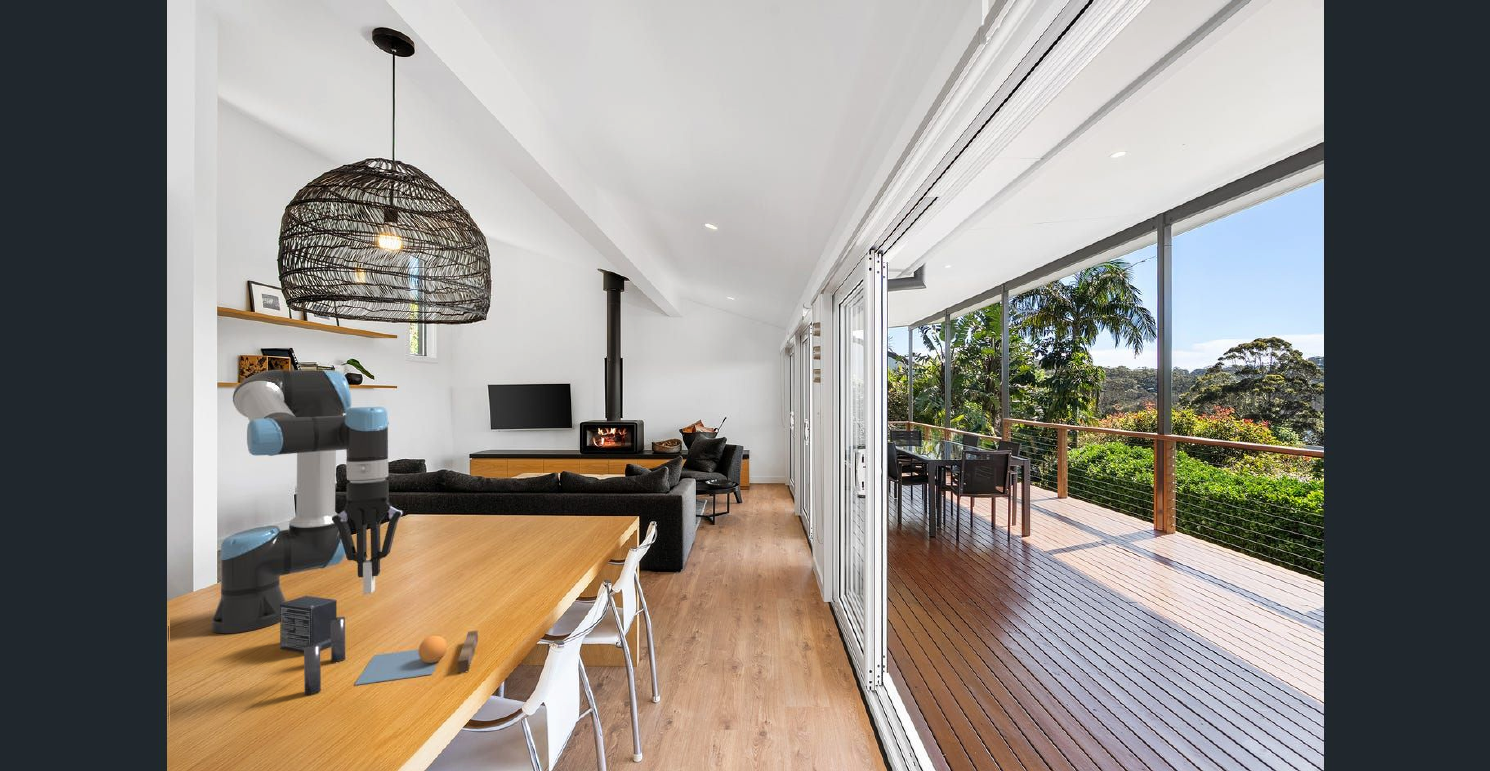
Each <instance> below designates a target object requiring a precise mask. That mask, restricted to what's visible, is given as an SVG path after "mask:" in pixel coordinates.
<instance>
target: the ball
mask: <svg viewBox="0 0 1490 771" xmlns="http://www.w3.org/2000/svg"><path fill="white" fill-rule="evenodd" d="M418 650H419V651H418V653H419V657H420V659H421V660H422V661H424V662H426V663H435V662H437V661H438V662H439V661H441V659H443V658H444V657H445V655H446V653H447V650H448V644H447V641H446V640H445V638H443V637H442V636H440V635H430V636H428V637H427V638H425V639H424V640H422V642H421V643H420V644H419V648H418ZM438 662H437V663H438Z"/></svg>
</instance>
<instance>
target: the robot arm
mask: <svg viewBox="0 0 1490 771" xmlns="http://www.w3.org/2000/svg"><path fill="white" fill-rule="evenodd" d="M232 402H233V405H234V408H235V409H236V411H237V413H238V412H239V414H241V415H242V416H243V417H245V418H247V420H248V421H249V422H248V424H247V428H246V443H247V445H246V446H247V449H248V450H247V451H248V452H249V453H250V454H251V455H252V456H270V457H272V456H278V455H291V454H296V505H295V506H296V507H295V508H296V512H295V516H294V517H293V518H291V520H289V523H288V524H289V526H288V529H284V530H283V529H282V530H281V529H280V528H279V526H277V525H267V526H258V527H254V528H250V529H249V528H248V529H246V530H242V531H239V532H236V533H233V534H230V535H229V536H227V537H225V538H224V540H223V541H222V542H221V544H220V556H219V560H220V599H219V602H218V605H217V607H216V609H215V612H214V616H213V617H212V620H211V627H212V628H211V630H212V632H214V633H217V634H236V633H237V634H238V633H245V632H249V631H254V630H259V629H262V628H265V627H270V626H271V625H275V624H277V623H280V618H281V617H280V603H283V602H287V600H286V598H285V596H284V594H283V591H282V589H281V586H280V582H281V580H280V577H281V576H285V575H286V576H287V575H291V574H296V573H303V572H307V571H313V570H319V569H322V570H323V569H326V568H327V567H332V566H336V565H339V564H340V563H342V561H344V559H345V558H346V559H347V561H354V562H356V564H357V577H358V578H359V579H360V578H362V587H363V588H362V589H363V590H362V592H363V595H369V594H372V593H373V592H374V591H375V590H376V577H377V576H379V574H380V573H381V560H382V559H384V558H386V557H387V556H388V555H390V552H391V550H392V545H393V543H394V538H395V534H396V530H397V526H398V522H399V520H400V518H402V516H403V514H404V510H402V509H397V508H395V507H393V506H392V503H391V501H390V496H389V489H390V488H389V486H390V485H389V480H388V479H387V478H388V477H389V443H388V442H389V422H390V421H389V420H388V410H387V409H386V407H383V406H364V407H363V406H355V407H351V406H352V396H351V390H350V386H349V382H348V380H347V378H346V376H345V375H344V373H342V372H340V371H338V370H327V369H288V370H287V369H271V370H266V371H261V372H258V373H255V374H253V375H251V376H249V377H247V378H245V379H243V380H242V381H241V382H240V383H238V385H237V386H236V387H235V388H234V391H233V394H232ZM344 414H345V415H344ZM345 450H346V458H345V459H346V465H345V466H346V479H347V480H348V482H347V484H346V504H345V506H344V508H343V511H341V512H340V513H337V512H336V471H337V470H336V468H337V466H336V465H337V462H336V460H337V451H345ZM387 514H388V518H389V521H388V524H387V528H386V533H385V536H384V540H383V544H382V548H381V524H382V521H383V519H384V518H385V517H386V515H387ZM348 518H349V519H351V521H352V522H353V523H354V524H355V532H356V533H355V534H356V547H355V542H354V538H353V536H352V533H351V529H350V526H349V525H350V524H349V522H348ZM368 525H369V530H370V558H369V559H368V555H367V552H368V542H367V539H368V538H367V534H368V533H367V530H368V529H367V527H368Z"/></svg>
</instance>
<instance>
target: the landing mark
mask: <svg viewBox="0 0 1490 771" xmlns="http://www.w3.org/2000/svg"><path fill="white" fill-rule="evenodd" d="M418 651H419V649H412V650H404V651H397V652H389V653H382V654H374V655H373V657H372V658H371V659H370V661H369V662H368V664H367V666H365V668H364V669H363V671H362V672H361V674H360V676H359V677H358V678H357V680H356V682H355V683H354V687H355V686H360V685H361V686H362V685H368V684H376V683H384V682H390V681H397V679H399V680H404V679H410V678H419V676H420V677H426V676H425V675H427V676H432V675H433V674H434V671H435V669H436V667H435V666H437V664H438V663H439V661H437V662H435V663H426V662H424V661H422V660H421V659H420V657H419V653H418ZM431 674H432V675H431Z"/></svg>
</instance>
